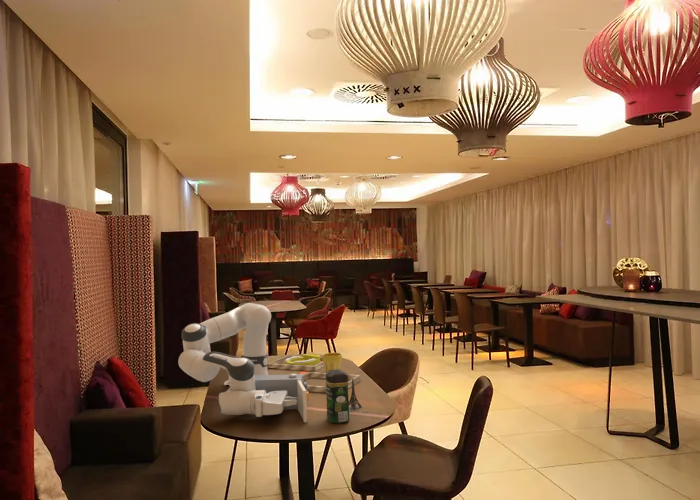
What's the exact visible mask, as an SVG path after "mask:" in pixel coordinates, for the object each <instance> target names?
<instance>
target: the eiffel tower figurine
mask: <svg viewBox="0 0 700 500" xmlns="http://www.w3.org/2000/svg"><path fill="white" fill-rule="evenodd" d="M357 405H358V406H357ZM362 408H363V406H362V405H361V404H360V402H359V400H358V399H357V395H356V392H355V384H354V379H352V387H351V395H350V399H349V414H354V413H355V411H358V410H360V409H362ZM357 413H358V414H361V413H365V411H358V412H357Z"/></svg>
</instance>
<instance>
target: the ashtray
mask: <svg viewBox="0 0 700 500" xmlns="http://www.w3.org/2000/svg"><path fill="white" fill-rule="evenodd" d="M295 356H296V357H291V358H287V359H286V360H285V362H284V364H285V365H303V366H315V365H317V364H319V363H321V362H320V357H321V355H320V354H315V353H304V354H302V357H300V355H299V356H297V355H295Z"/></svg>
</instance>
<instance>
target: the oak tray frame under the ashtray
mask: <svg viewBox="0 0 700 500" xmlns="http://www.w3.org/2000/svg"><path fill="white" fill-rule="evenodd" d="M296 356H297V355H285V356H283V357H280V358H277V359H276V360H273V361H270V362H269V363H268V362H267V369H268V368H278V369H277V370H285V369H290V370H289V371H302V370H303V372H304V371H305V372H306V371H307V372H316V371H318V370H320V369H322V368H324V367H325V366H324V362H320V363H319V364H317V365H315V366H303V365H285V363H284V362H283V361H285V360H286V359H287V358H291V357H296ZM299 356H300V355H299ZM302 356H303V355H302ZM302 356H300V357H302ZM320 361H322V356H320ZM281 362H283V363H284V364H283V363H281ZM278 363H281V364H278ZM323 366H324V367H323ZM321 367H322V368H321Z"/></svg>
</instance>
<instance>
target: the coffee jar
mask: <svg viewBox="0 0 700 500" xmlns="http://www.w3.org/2000/svg"><path fill="white" fill-rule="evenodd" d="M325 373H326V372H325ZM348 375H349V374H348V373H346V371H344V370H341V369H335V370H329V371H328V372H327V373H326V379H325V387H326V393H325V395H326V418H327V420H328V421H329V422H330V423H331V424H344V423H346V422H349V421H350V413H349V406H350V405H349V401H350V399H349V389H348V382H349V380H348Z"/></svg>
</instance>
